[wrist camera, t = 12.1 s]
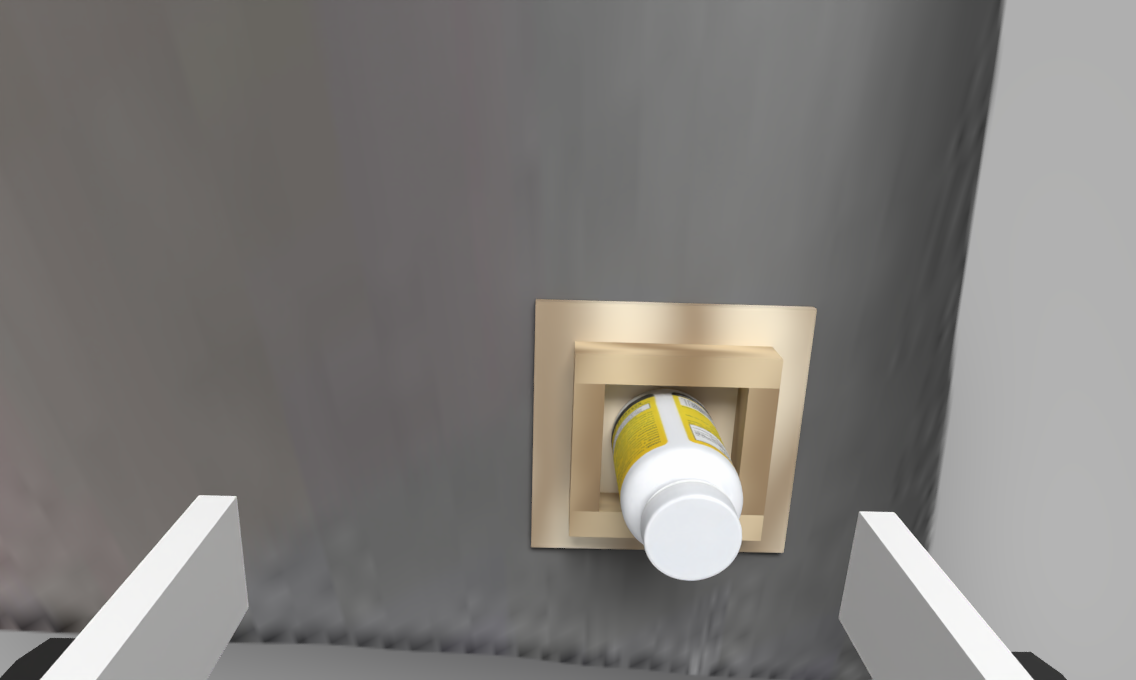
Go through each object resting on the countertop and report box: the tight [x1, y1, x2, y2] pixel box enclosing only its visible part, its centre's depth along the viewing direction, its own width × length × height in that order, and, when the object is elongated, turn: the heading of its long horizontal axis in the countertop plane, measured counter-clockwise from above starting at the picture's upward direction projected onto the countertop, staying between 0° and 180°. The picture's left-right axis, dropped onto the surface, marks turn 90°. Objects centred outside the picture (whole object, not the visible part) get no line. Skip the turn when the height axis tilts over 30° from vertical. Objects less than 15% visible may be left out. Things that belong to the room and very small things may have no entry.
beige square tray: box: [531, 299, 817, 553], centre depth 38 cm, size 14×14×2 cm
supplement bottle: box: [611, 389, 743, 581], centre depth 34 cm, size 5×5×10 cm
